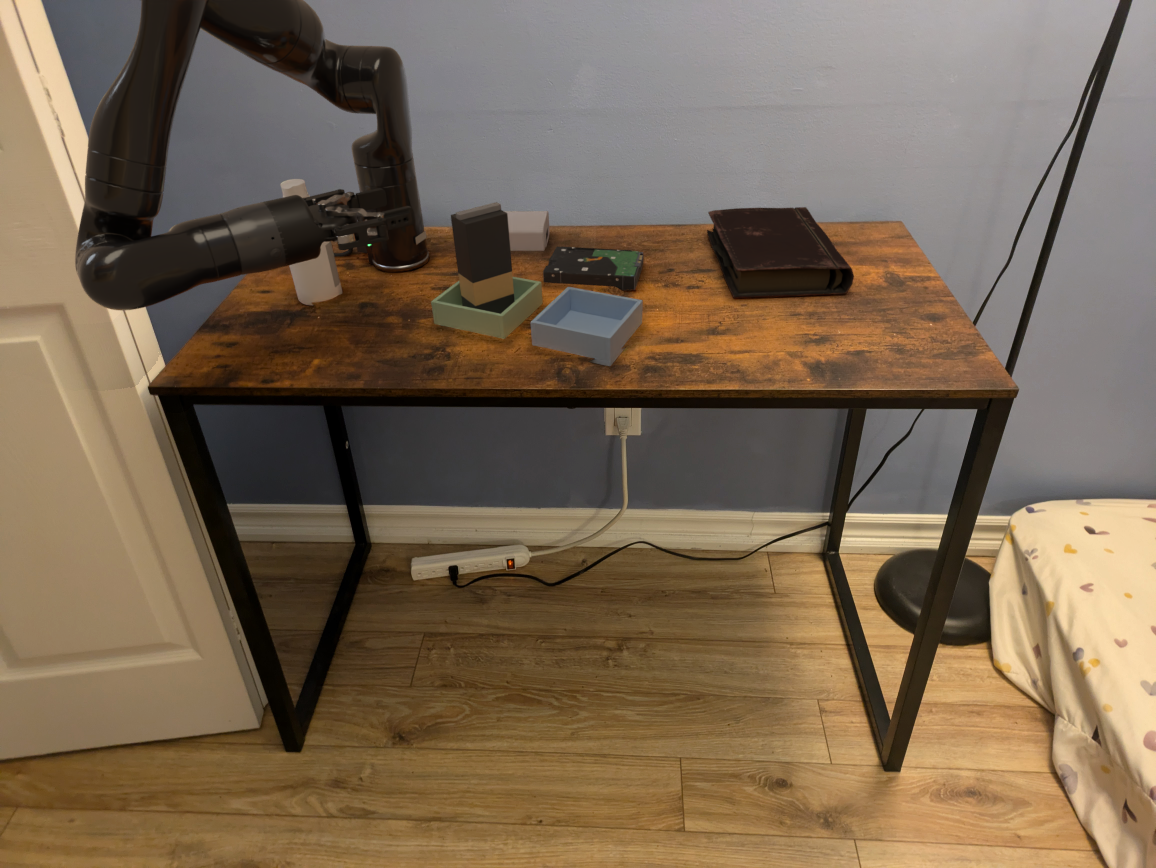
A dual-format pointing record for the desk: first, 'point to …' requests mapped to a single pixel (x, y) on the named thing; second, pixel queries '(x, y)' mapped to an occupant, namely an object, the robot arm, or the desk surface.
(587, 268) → the disk drive
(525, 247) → the charger
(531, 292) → the left bin
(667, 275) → the desk surface
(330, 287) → the spray bottle
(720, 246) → the diary
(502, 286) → the coffee bag
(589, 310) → the right bin
